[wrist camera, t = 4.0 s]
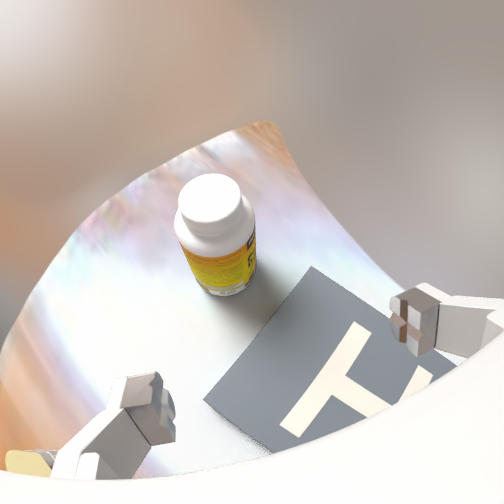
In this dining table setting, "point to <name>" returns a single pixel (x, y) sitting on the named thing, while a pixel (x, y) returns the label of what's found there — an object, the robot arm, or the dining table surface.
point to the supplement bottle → (217, 233)
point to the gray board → (319, 368)
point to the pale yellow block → (31, 462)
